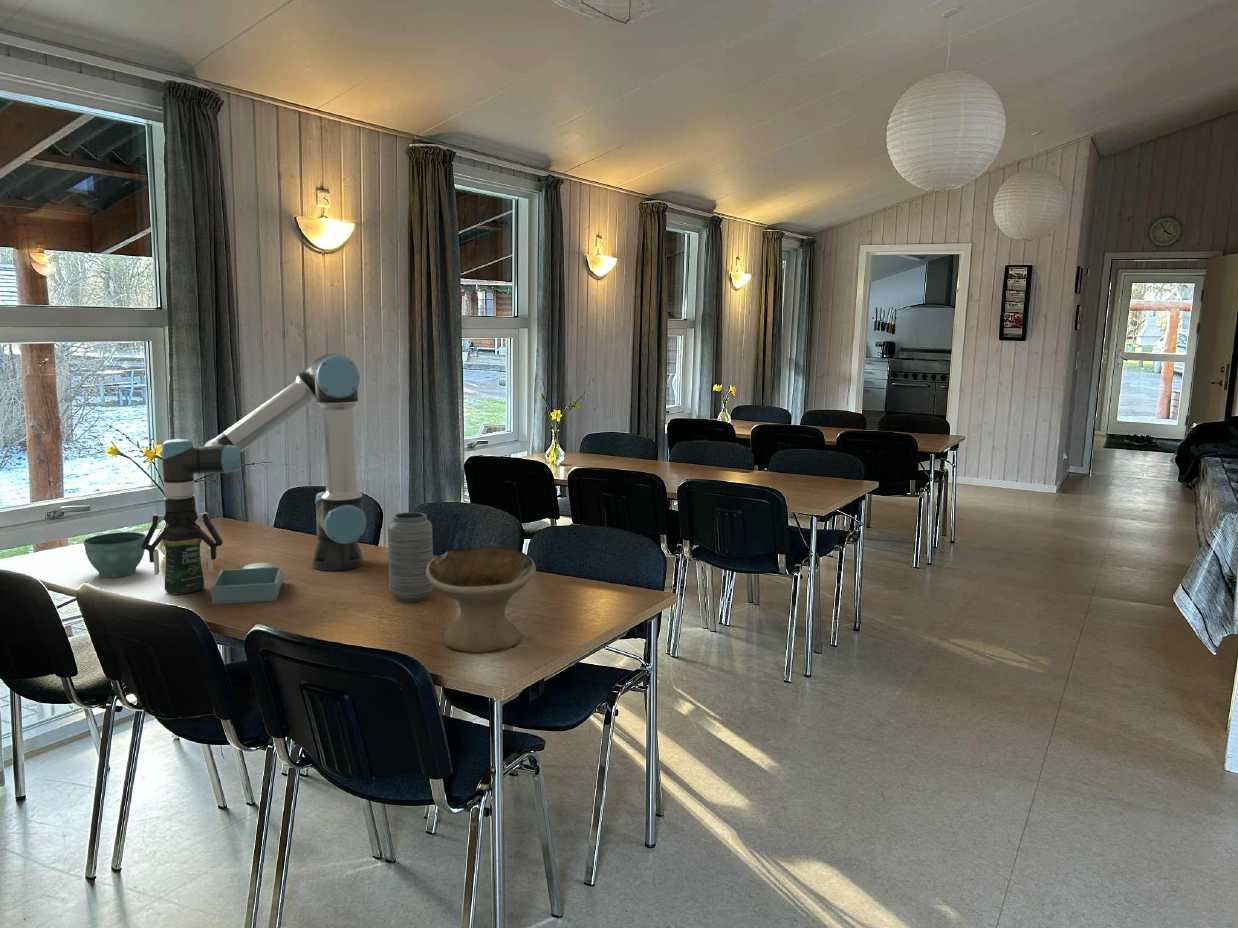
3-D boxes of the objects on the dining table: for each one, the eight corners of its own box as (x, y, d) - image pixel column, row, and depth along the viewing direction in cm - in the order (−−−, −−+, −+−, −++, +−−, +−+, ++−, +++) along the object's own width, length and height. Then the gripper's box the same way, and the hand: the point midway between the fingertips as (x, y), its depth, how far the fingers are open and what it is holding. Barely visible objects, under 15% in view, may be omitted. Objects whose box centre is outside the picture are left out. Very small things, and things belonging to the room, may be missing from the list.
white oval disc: (274, 573, 277) (273, 562, 276) (271, 580, 269) (271, 569, 269) (245, 575, 275) (244, 563, 274) (242, 582, 267) (241, 570, 267)
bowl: (404, 650, 213) (403, 565, 210) (461, 619, 236) (460, 542, 233) (504, 666, 204) (504, 577, 201) (553, 631, 227) (553, 552, 224)
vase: (386, 594, 257) (384, 512, 253) (428, 590, 261) (427, 509, 258) (393, 606, 246) (391, 520, 243) (437, 601, 251) (436, 517, 247)
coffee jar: (175, 597, 251) (171, 529, 249) (160, 591, 256) (156, 525, 253) (209, 589, 259) (206, 524, 256) (194, 584, 264) (190, 520, 261)
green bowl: (82, 583, 263) (80, 546, 261) (88, 569, 278) (86, 534, 276) (146, 578, 270) (144, 541, 268) (149, 565, 284) (147, 530, 283)
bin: (281, 582, 267) (281, 566, 266) (276, 600, 250) (276, 583, 249) (221, 585, 263) (221, 569, 262) (212, 604, 246) (211, 587, 245)
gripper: (230, 492, 261) (234, 566, 264) (132, 495, 254) (137, 571, 257) (227, 497, 253) (231, 573, 257) (126, 500, 247) (131, 578, 250)
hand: (184, 572), depth 257 cm, fingers open, 13 cm apart
